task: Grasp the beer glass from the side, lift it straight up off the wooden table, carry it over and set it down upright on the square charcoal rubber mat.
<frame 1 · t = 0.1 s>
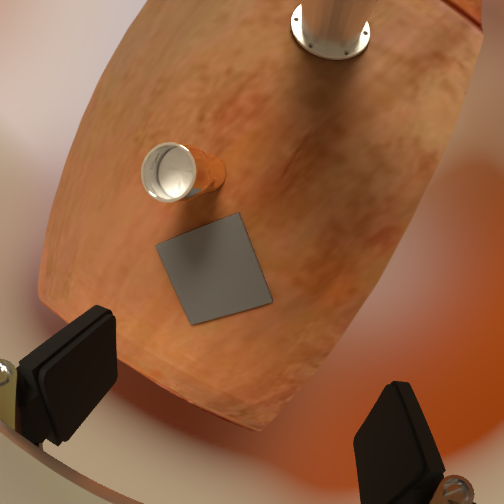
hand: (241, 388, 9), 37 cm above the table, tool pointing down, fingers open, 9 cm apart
beer glass: (207, 172, 44), on the table
charcoal mat: (213, 272, 48), on the table
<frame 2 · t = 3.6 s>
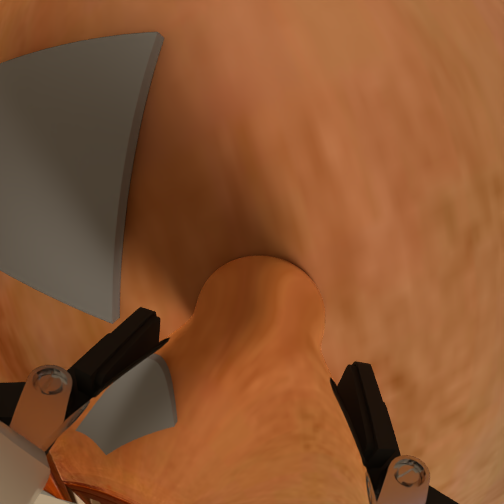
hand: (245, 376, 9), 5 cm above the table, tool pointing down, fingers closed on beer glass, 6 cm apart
beer glass: (261, 314, 14), on the table, touching gripper
charcoal mat: (35, 166, 14), on the table
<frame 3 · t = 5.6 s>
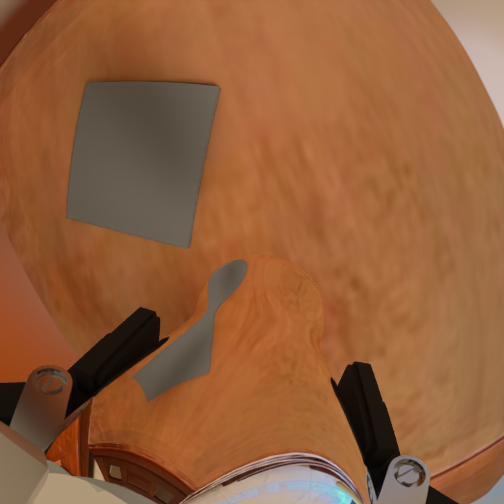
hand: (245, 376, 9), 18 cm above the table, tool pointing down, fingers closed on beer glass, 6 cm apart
beer glass: (261, 314, 14), point 13 cm above the table, touching gripper
charcoal mat: (132, 156, 26), on the table
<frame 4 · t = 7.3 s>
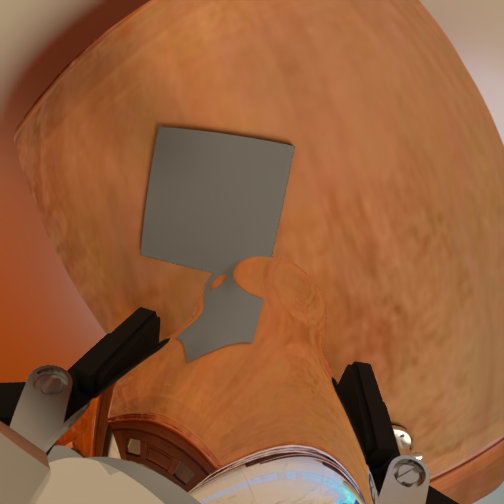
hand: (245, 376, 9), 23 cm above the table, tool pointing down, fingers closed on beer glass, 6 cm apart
beer glass: (261, 314, 14), point 18 cm above the table, touching gripper
charcoal mat: (211, 202, 32), on the table
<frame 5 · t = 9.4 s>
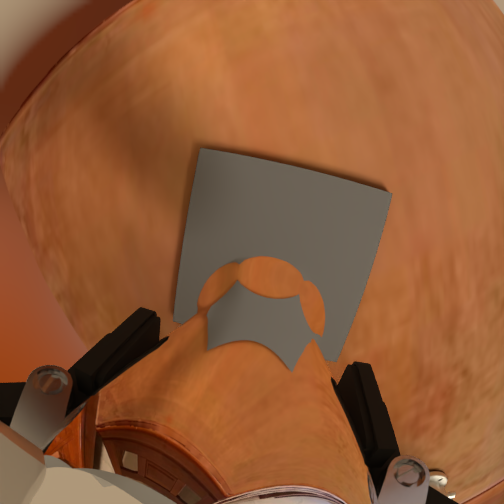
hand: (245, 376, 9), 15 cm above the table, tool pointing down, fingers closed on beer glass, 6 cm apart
beer glass: (261, 313, 14), point 10 cm above the table, touching gripper
charcoal mat: (275, 260, 24), on the table
when the fingers open (7 cm above the table, at t = 11.3 s): beer glass drops 1 cm, resting on charcoal mat.
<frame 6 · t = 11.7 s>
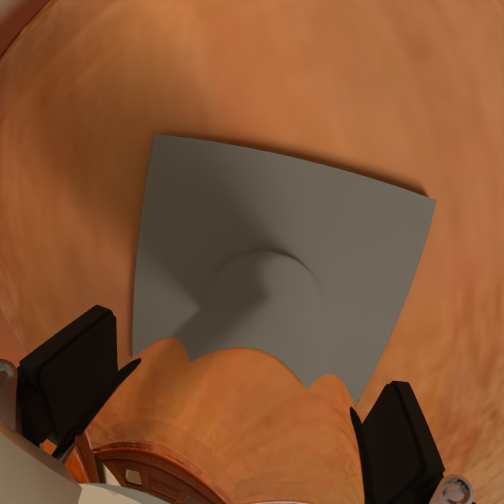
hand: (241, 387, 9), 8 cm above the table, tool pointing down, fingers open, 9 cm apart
beer glass: (264, 304, 16), point 1 cm above the table, touching charcoal mat
charcoal mat: (265, 296, 16), on the table
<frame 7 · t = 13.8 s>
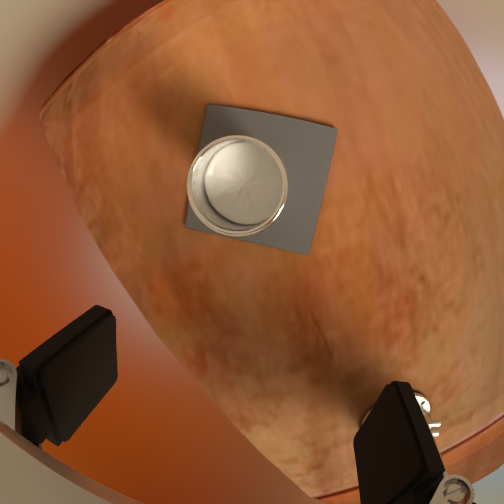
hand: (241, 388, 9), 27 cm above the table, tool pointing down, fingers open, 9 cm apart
beer glass: (258, 179, 33), point 1 cm above the table, touching charcoal mat
charcoal mat: (259, 177, 34), on the table
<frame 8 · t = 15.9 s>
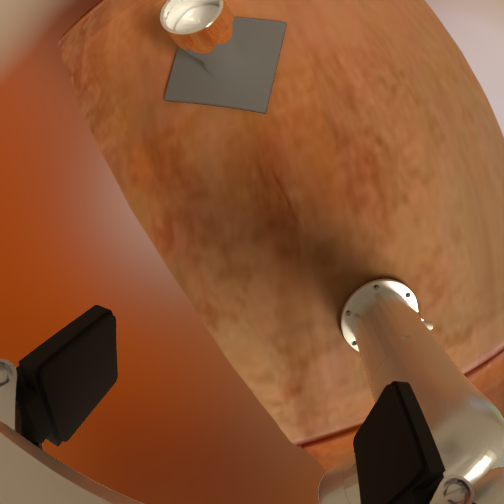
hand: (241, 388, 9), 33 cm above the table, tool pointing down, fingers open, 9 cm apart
beer glass: (224, 59, 35), point 1 cm above the table, touching charcoal mat
charcoal mat: (225, 59, 36), on the table
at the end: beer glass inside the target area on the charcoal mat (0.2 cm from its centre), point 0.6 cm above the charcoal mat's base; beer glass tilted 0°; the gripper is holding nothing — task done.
